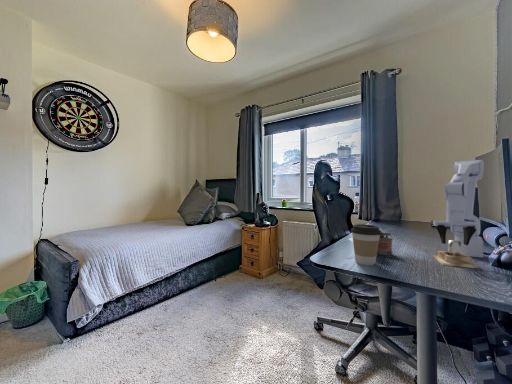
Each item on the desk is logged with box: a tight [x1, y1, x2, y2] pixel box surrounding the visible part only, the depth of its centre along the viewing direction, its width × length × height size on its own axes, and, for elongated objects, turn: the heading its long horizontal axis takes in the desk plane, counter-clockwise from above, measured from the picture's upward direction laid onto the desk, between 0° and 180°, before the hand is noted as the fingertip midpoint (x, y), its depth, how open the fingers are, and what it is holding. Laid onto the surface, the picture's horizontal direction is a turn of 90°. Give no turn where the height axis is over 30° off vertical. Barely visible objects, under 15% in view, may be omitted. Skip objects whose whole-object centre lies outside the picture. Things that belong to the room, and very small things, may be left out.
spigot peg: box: [447, 239, 461, 256], centre depth 99 cm, size 4×4×8 cm
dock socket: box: [431, 250, 481, 269], centre depth 99 cm, size 12×12×3 cm
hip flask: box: [377, 231, 393, 256], centre depth 111 cm, size 8×3×10 cm, turn 69°
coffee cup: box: [350, 223, 382, 267], centre depth 97 cm, size 11×11×15 cm
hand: (454, 244), depth 98 cm, fingers open, 7 cm apart
